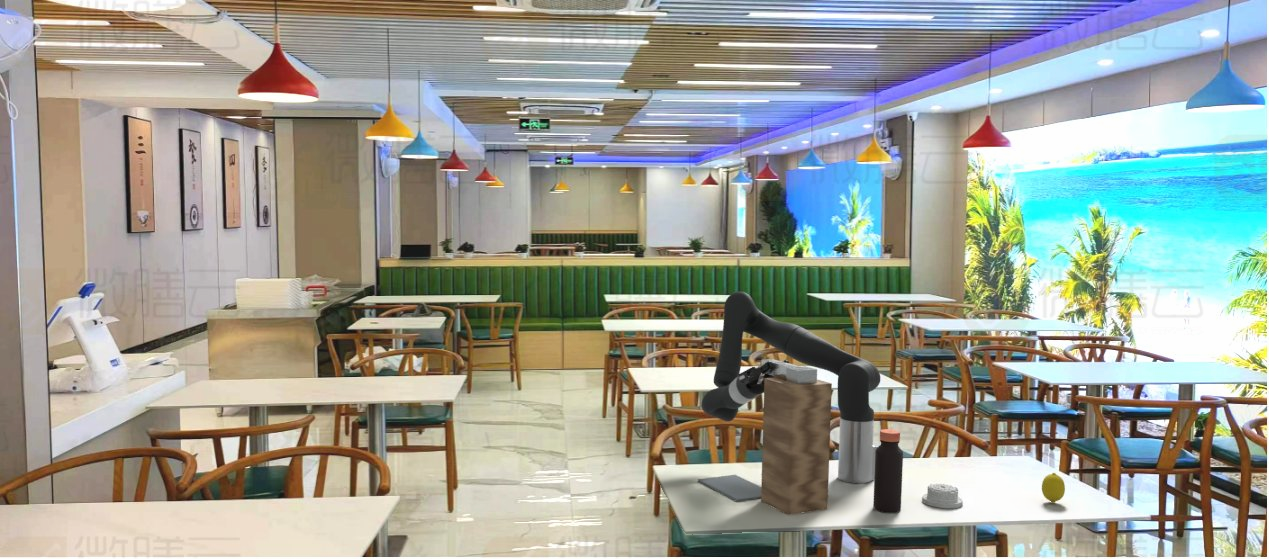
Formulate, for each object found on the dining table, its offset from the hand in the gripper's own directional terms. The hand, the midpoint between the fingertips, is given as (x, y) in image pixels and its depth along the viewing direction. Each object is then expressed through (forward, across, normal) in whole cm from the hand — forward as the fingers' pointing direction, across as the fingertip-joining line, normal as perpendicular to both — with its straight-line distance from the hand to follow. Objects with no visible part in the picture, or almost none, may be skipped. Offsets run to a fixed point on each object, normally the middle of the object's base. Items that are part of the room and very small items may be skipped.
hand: (779, 364), depth 249 cm
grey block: (+1, 0, +4) cm, 4 cm away
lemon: (+11, +64, +47) cm, 80 cm away
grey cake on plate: (+1, +37, +42) cm, 56 cm away
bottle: (0, +20, +41) cm, 45 cm away
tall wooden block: (-10, 0, +34) cm, 36 cm away
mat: (-26, -6, +25) cm, 37 cm away
